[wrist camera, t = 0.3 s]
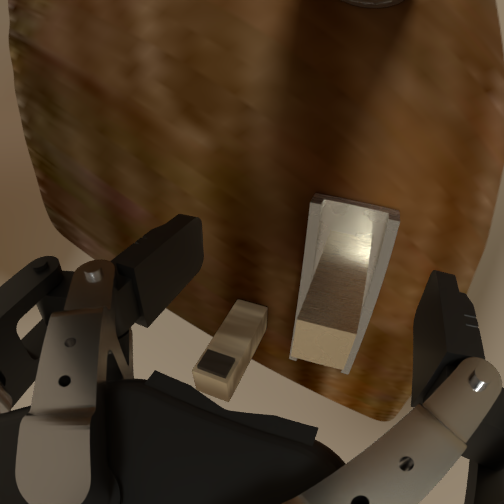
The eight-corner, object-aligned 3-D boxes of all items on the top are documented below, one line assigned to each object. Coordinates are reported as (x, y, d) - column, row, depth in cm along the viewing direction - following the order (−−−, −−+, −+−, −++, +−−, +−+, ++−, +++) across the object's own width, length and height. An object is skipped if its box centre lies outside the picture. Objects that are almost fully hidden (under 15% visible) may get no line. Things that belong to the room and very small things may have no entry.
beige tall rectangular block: (237, 296, 41) (191, 367, 31) (267, 304, 39) (226, 381, 30) (238, 320, 43) (196, 389, 34) (266, 328, 42) (228, 402, 33)
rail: (315, 192, 29) (269, 275, 19) (399, 210, 27) (400, 307, 17) (293, 346, 42) (259, 428, 32) (351, 361, 39) (328, 448, 30)
